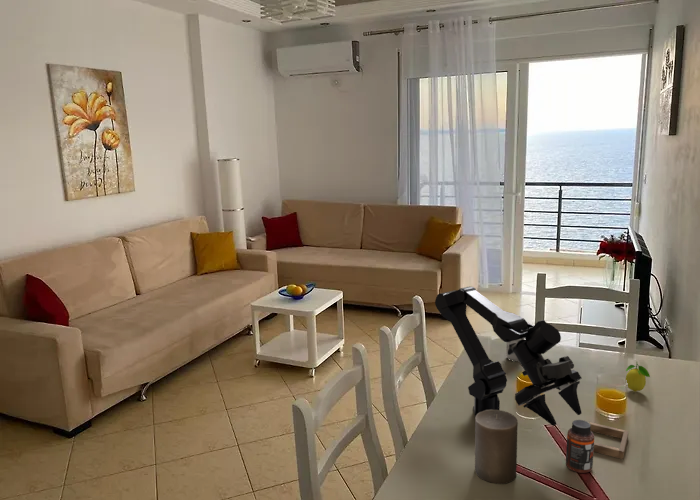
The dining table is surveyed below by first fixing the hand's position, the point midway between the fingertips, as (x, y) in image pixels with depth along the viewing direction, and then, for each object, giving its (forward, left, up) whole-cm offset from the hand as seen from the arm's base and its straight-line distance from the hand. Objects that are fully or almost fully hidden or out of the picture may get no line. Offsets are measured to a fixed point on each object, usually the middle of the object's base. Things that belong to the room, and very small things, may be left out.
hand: (567, 419), depth 130 cm
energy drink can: (-2, +62, -11) cm, 63 cm away
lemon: (+30, +38, -11) cm, 50 cm away
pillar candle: (-18, -7, -11) cm, 22 cm away
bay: (+11, +8, -11) cm, 18 cm away
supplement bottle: (+2, -3, -11) cm, 11 cm away
